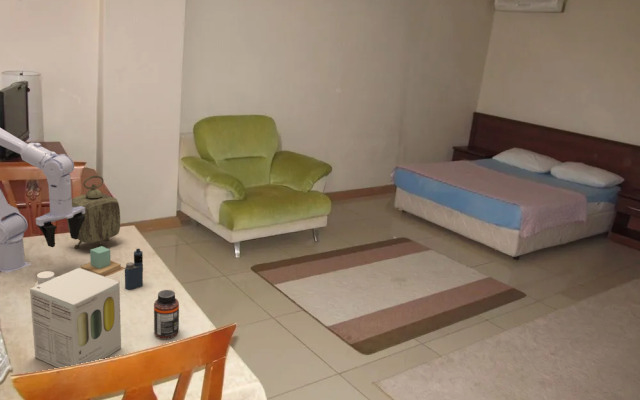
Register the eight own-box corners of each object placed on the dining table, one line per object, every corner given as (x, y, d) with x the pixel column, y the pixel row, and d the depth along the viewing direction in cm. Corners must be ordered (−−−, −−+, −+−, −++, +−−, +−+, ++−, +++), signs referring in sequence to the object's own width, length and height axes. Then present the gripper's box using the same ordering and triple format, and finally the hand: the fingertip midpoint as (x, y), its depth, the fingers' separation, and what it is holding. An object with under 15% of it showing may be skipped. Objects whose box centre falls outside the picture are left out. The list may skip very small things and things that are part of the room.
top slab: (80, 270, 159) (80, 266, 158) (101, 261, 166) (101, 257, 165) (99, 277, 156) (99, 273, 155) (120, 268, 162) (120, 264, 162)
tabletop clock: (108, 238, 185) (106, 169, 177) (123, 246, 180) (122, 175, 172) (68, 249, 174) (64, 176, 166) (83, 257, 169) (80, 183, 161)
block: (90, 265, 159) (90, 249, 158) (101, 261, 163) (101, 246, 161) (99, 268, 158) (98, 253, 156) (110, 264, 161) (110, 249, 159)
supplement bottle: (156, 326, 135) (156, 286, 131) (180, 327, 135) (181, 287, 132) (151, 339, 129) (151, 298, 126) (176, 340, 130) (176, 299, 126)
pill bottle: (49, 314, 135) (47, 280, 132) (31, 311, 136) (28, 276, 133) (63, 305, 140) (61, 272, 138) (45, 301, 141) (43, 268, 138)
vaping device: (144, 287, 154) (144, 249, 150) (127, 292, 150) (127, 254, 146) (140, 284, 155) (140, 246, 152) (123, 289, 151) (122, 251, 148)
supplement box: (76, 377, 113) (72, 305, 108) (33, 358, 118) (28, 287, 113) (122, 348, 125) (121, 281, 119) (82, 331, 130) (79, 266, 125)
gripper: (46, 207, 142) (49, 253, 146) (91, 195, 154) (93, 238, 158) (29, 201, 145) (33, 247, 149) (75, 190, 157) (77, 232, 161)
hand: (63, 242), depth 154 cm, fingers open, 7 cm apart
